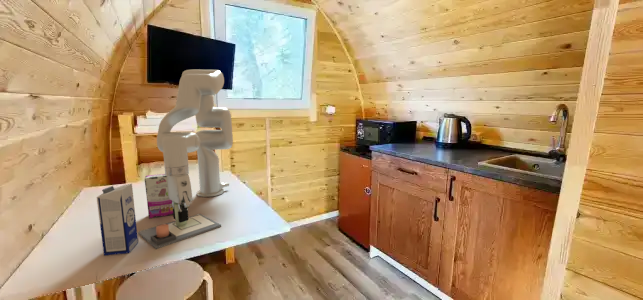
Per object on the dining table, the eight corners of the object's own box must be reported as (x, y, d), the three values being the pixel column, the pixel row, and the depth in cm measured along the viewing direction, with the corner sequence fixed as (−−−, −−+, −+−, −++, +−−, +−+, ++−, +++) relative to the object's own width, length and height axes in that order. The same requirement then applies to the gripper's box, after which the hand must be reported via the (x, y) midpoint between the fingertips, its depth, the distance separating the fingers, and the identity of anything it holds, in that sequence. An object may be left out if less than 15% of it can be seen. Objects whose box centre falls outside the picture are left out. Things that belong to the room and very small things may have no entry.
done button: (166, 231, 97) (165, 223, 96) (171, 234, 94) (170, 226, 94) (154, 235, 94) (154, 226, 94) (159, 238, 92) (158, 229, 91)
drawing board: (200, 215, 116) (200, 210, 116) (221, 226, 106) (220, 221, 106) (138, 233, 100) (138, 228, 100) (156, 248, 90) (155, 243, 89)
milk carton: (129, 253, 87) (121, 189, 84) (103, 255, 86) (95, 190, 82) (138, 242, 94) (132, 182, 91) (115, 244, 93) (107, 183, 89)
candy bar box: (179, 209, 122) (176, 172, 120) (180, 213, 118) (177, 174, 115) (149, 214, 117) (145, 175, 115) (148, 218, 113) (144, 177, 110)
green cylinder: (184, 220, 108) (182, 194, 106) (189, 223, 105) (186, 197, 104) (173, 223, 105) (171, 197, 103) (178, 226, 102) (175, 199, 101)
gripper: (198, 172, 99) (202, 222, 102) (177, 165, 110) (181, 211, 113) (175, 176, 94) (180, 229, 97) (156, 168, 104) (161, 216, 108)
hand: (181, 219), depth 105 cm, fingers closed on green cylinder, 3 cm apart
